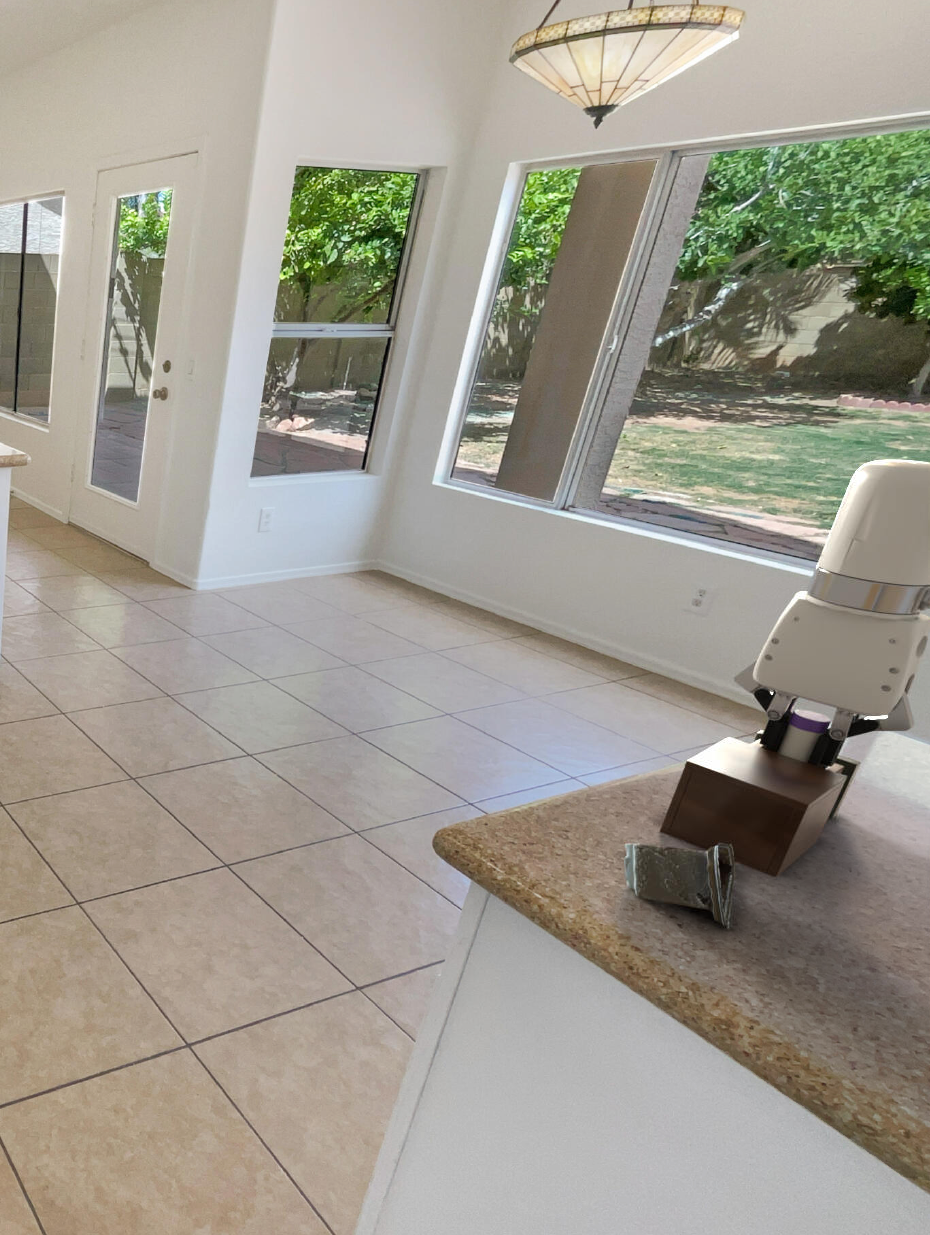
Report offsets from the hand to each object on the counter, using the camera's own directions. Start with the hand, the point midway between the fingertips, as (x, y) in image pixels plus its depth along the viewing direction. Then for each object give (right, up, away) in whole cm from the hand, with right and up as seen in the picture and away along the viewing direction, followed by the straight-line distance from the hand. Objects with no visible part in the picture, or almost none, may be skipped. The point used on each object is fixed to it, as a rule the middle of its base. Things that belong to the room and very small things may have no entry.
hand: (793, 759), depth 86 cm
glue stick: (0, 0, 0) cm, 0 cm away
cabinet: (-7, -8, -1) cm, 11 cm away
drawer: (+2, -6, +3) cm, 7 cm away
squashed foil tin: (-20, -10, -8) cm, 24 cm away
